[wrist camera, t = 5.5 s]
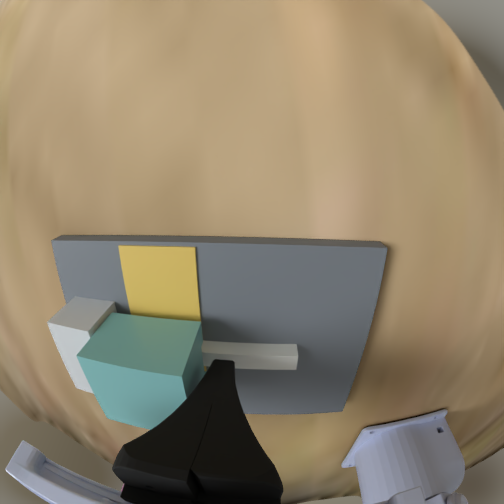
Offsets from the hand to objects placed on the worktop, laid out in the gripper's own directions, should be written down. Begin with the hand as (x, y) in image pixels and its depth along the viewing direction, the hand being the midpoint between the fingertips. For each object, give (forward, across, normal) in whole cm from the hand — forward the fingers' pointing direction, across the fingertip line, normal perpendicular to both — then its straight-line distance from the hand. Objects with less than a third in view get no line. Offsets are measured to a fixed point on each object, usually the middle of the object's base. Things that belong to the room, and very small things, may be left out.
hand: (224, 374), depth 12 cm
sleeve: (+1, +4, 0) cm, 4 cm away
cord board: (+3, +1, 0) cm, 3 cm away
